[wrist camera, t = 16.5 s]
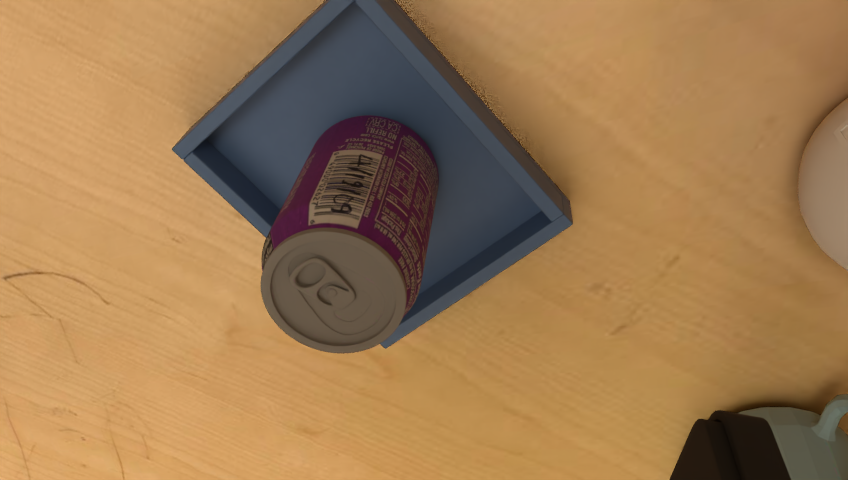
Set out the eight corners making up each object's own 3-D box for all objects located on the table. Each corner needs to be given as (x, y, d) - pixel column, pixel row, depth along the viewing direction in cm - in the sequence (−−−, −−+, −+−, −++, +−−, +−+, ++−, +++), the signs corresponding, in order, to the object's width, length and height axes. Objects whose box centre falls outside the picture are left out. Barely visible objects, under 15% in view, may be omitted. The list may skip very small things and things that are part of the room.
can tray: (187, 130, 44) (170, 149, 42) (363, -36, 39) (354, -24, 37) (391, 323, 50) (385, 349, 47) (570, 201, 44) (573, 224, 42)
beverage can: (284, 167, 44) (215, 289, 34) (371, 82, 41) (324, 188, 31) (378, 249, 46) (340, 387, 36) (467, 174, 43) (453, 301, 33)
